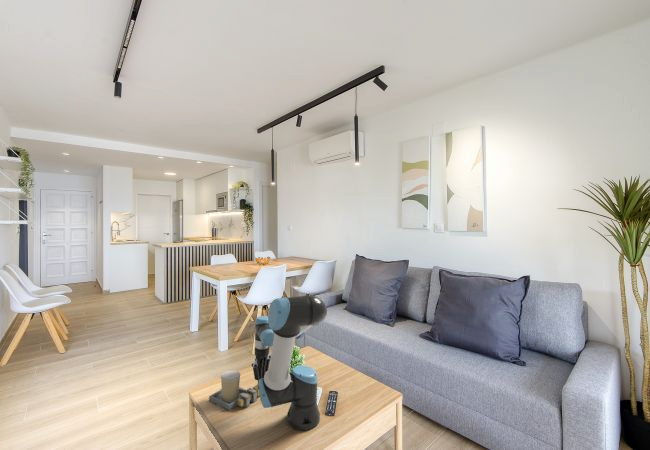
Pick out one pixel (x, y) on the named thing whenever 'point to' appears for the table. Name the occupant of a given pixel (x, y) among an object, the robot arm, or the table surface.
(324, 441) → the table surface
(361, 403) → the table surface
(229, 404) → the dock tray
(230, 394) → the coffee cup
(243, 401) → the lock pin
